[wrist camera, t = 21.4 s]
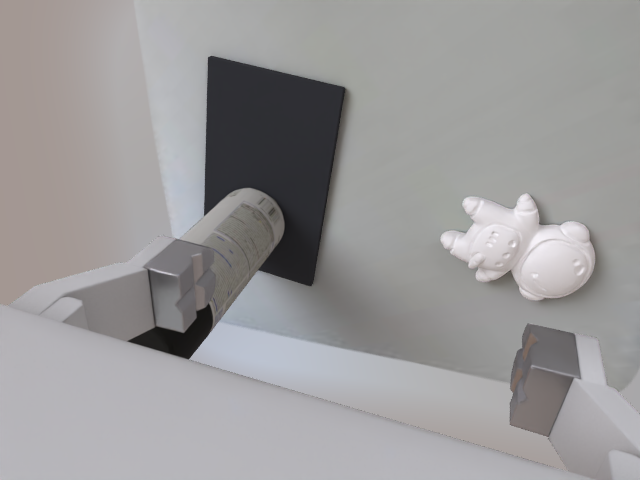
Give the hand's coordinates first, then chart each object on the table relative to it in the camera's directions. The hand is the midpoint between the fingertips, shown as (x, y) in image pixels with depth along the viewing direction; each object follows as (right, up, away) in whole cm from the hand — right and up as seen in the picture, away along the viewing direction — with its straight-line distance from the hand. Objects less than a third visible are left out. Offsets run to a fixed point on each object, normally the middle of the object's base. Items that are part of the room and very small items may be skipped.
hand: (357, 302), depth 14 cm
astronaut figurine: (+16, +1, +31) cm, 35 cm away
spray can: (-7, +4, +38) cm, 39 cm away
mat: (-6, +7, +36) cm, 37 cm away
